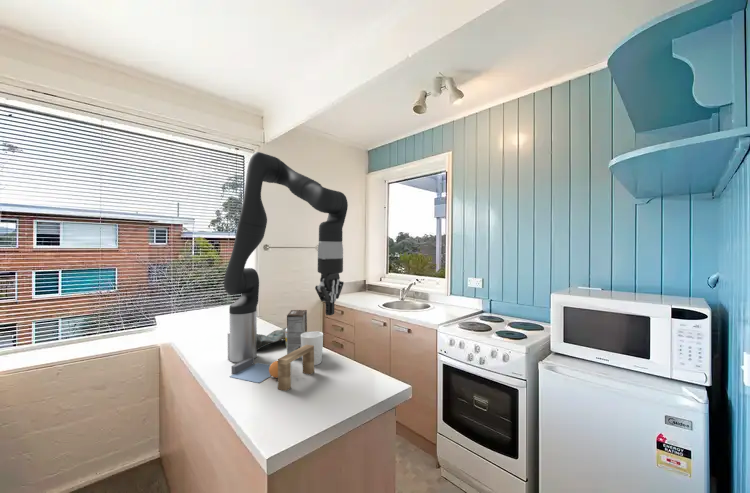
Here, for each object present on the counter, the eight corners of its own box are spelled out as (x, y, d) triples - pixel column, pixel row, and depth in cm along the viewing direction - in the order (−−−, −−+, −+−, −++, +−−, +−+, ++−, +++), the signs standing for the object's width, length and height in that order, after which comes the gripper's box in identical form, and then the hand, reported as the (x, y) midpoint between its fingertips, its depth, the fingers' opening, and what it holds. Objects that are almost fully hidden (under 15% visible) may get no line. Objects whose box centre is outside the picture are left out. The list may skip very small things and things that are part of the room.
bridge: (278, 389, 87) (277, 359, 87) (306, 370, 100) (306, 344, 100) (286, 391, 86) (286, 360, 86) (314, 372, 99) (313, 345, 99)
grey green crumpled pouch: (254, 354, 116) (311, 339, 133) (253, 335, 116) (310, 323, 133) (242, 349, 126) (297, 335, 142) (241, 331, 126) (296, 320, 143)
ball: (280, 370, 92) (275, 383, 93) (290, 363, 97) (285, 376, 98) (268, 361, 94) (263, 374, 94) (279, 355, 98) (274, 368, 99)
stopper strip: (231, 373, 98) (231, 366, 98) (250, 364, 106) (250, 357, 106) (235, 374, 98) (235, 366, 98) (253, 365, 105) (253, 358, 105)
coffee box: (291, 350, 120) (290, 309, 120) (307, 349, 121) (307, 309, 121) (286, 358, 111) (286, 314, 111) (304, 358, 112) (303, 314, 112)
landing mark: (229, 376, 96) (229, 376, 96) (257, 363, 107) (257, 362, 107) (258, 383, 91) (258, 382, 91) (284, 368, 102) (284, 367, 102)
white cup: (318, 367, 103) (318, 338, 103) (296, 365, 105) (296, 336, 105) (326, 359, 111) (326, 331, 111) (306, 357, 112) (306, 330, 112)
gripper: (331, 255, 98) (330, 309, 98) (306, 257, 86) (306, 318, 86) (351, 256, 95) (351, 311, 95) (329, 258, 83) (329, 321, 83)
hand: (329, 314), depth 91 cm, fingers closed
